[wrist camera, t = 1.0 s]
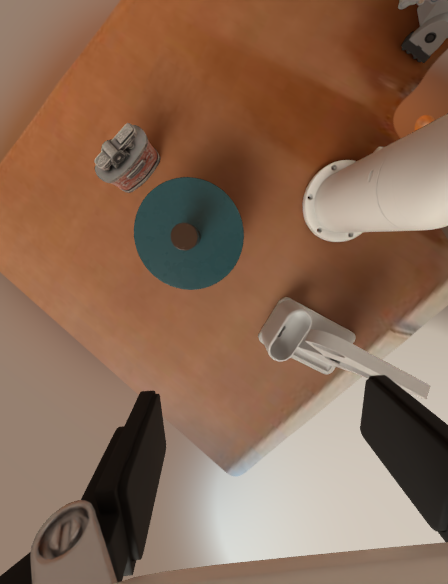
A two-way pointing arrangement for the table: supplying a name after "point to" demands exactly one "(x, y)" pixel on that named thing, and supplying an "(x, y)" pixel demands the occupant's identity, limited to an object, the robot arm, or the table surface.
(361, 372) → the phone holder
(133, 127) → the lighter
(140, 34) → the table surface
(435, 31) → the figurine
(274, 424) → the table surface
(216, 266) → the tin lid
